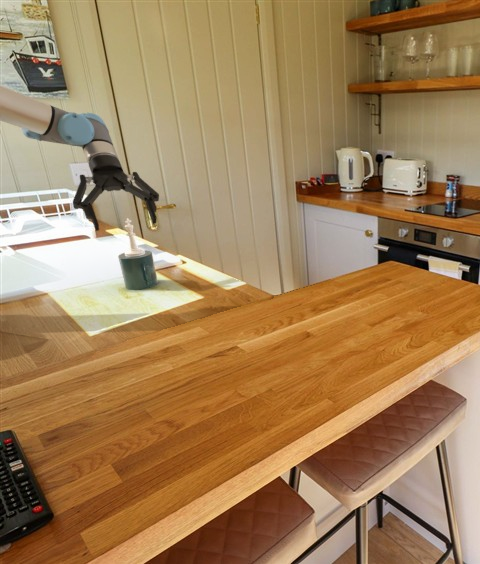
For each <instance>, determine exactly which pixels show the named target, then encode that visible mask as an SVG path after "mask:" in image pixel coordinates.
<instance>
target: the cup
mask: <svg viewBox="0 0 480 564" xmlns="http://www.w3.org/2000/svg"><path fill="white" fill-rule="evenodd" d="M144 250H145V254H144V255H141V256H136V257H127V256H125V252H123V253H120V254H119V255H118V257H117V258H118V262H119V266H120V271H121V275H122V278H123V282H124V287H125V289H126V290H130V291H139V290H146V289H149V288H152V287H155V286H156V285H158V283H159V281H158V276H157V271H156V266H155V261H154V256H153V252H152V251H151V250H146V249H144Z"/></svg>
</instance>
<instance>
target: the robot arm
mask: <svg viewBox="0 0 480 564" xmlns="http://www.w3.org/2000/svg"><path fill="white" fill-rule="evenodd" d="M0 122H4V123H6V124H9V125H12V126H14V127H17V128H21V131H22V134H23V135H24V136H25V137H26V138H28V139H31V140H36V141H39V142H47V143H54V144H60V145H68V146H72V147H79V148H82V151H83V153H84V156H85V158H86V162H87V164H88V167H89V170H90V173H91V175H92V176H86V175H85V174H80V175H79V184H78V187H77V190H76V192H75V195H74V196H73V200H72V206H73V209H75V210H78V209H81V210H82V212H83V213H84V216H85V219H86V220H91V221H92V224H93V227H94V230H95V232H98V231H100V224H99V222H98V218H97V215H96V213H95V211H94V207H93V204H94V202H95V201H96V200H97V199H98V198H99V196H100V195H101V194H103V193H104V192H105V191H106V192H113V191H116V192H118V191H121V190H122V191H124V192H125V193H130V194H131V195H133V196H135V197H136V198H138V199H140V200H142V201H144V202H145V207H146V209H147V212H148V214H149V216H150V217H149V218H150V219H151V223H152V224H157V220H158V219H157V215H156V213H157V205H156V203H155V202H159V200H160V194H159V192H157V191H156V190H155V189H154V188H152V187H151V186H150V185H149V184H148V183H147V182H146V181H144V179H142V178H141V177H140V174H139V173H138V172H137V171H132V173H131V174H127V173H125V171H124V168H123V167H122V164H121V161H120V159H119V156H118V153H117V152H116V148H115V146H114V143H113V141H112V137H111V136H110V131H109V129H108V127H107V125H106V122H105V121H104V119H102V117H101V116H99V115H97V114H96V113H93V112H87V113H84V112H81V113H76V112H69V111H67V110H63V109H61V108H59V107H55V106H53V105H51V104H49V103H46V102H43V101H41V100H38V99H36V98H34V97H32V96H29V95H26V94H24V93H22V92H19V91H16V90H13V89H11V88H8V87H6V86H3V85H1V84H0ZM130 181H131V182H132V183H131V182H130ZM91 183H93V184H94V187H93V188H92V189H91V190H90V191H89V193H88V194H87V196H85V193H86V191H87V188H88V187H89V185H90V184H91ZM134 184H135V185H134ZM84 196H85V198H84Z"/></svg>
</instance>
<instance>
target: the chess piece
mask: <svg viewBox="0 0 480 564" xmlns="http://www.w3.org/2000/svg"><path fill="white" fill-rule="evenodd" d="M131 223H132V220H131V219H130V218H128V217H127V218H125V221H124V224H125V225H124V228H125V229H126V231H127V233H126V236H127V237H128V238H129V249H128V250H126V251H125V252H124V253H125V256H127V257H136V256H141V255H144V254H145V250H146V249H143V248H139V247H138V245H137V243H136V239H135V237H134V236H136V233H135V232H134V224H131Z"/></svg>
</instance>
